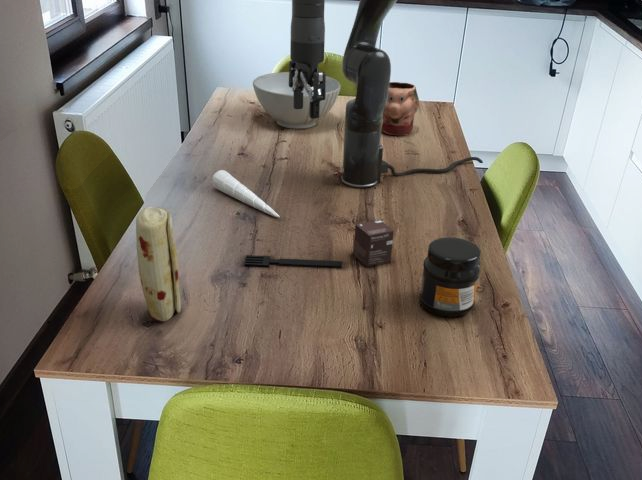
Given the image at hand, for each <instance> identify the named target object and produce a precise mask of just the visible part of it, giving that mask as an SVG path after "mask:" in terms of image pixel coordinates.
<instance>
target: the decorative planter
mask: <svg viewBox="0 0 642 480" xmlns="http://www.w3.org/2000/svg"><path fill="white" fill-rule="evenodd" d="M419 106H420V98H419V95H418V91H417V87H416V85H415V84H413V83H409V82H400V81H390V83H389V91H388V98H387V103H386V106H385V108H384V110H383V116H382V128H381V132H383V133H385V134H387V135H393V136H408V135H410V134H411V133H412V131H413V128H414V120H415V115H416V113H417V112H418V109H419Z"/></svg>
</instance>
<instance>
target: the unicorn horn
mask: <svg viewBox="0 0 642 480" xmlns="http://www.w3.org/2000/svg"><path fill="white" fill-rule="evenodd" d="M211 183H212V186H213V187H214V189H216V190H217V191H220V192H222V193H224V194H226V195H227V196H229V197H232V198H234V199H236V200H237V201H240V202H242V203H244V204H245V205H248V206H250V207H252V208H254V209H257V210H258V211H261V212H262V213H264V214H265V213H266V214H268V215H269V216H272V217H275V218H280V217H281V216H280V215H279V214H278V213H277V212H276V211H275V210H274V209H273V208H272V207H271V206H270V205H268V204H267V203H266V202H265V201H263V199H261V198H260V197H258V195H257V194H255V193H254V192H253V191H251V190H250V189H249V188H248V187H246V186H245V185H244V184H243V183H241V182H240V181H239V180H237V178H236V177H234V176H233V175H232V174H230V173H229V172H228V171H227V170H224V169H220V170H217V171H216V172H215V173H214V174H213V175H212V178H211Z"/></svg>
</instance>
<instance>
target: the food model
mask: <svg viewBox="0 0 642 480" xmlns="http://www.w3.org/2000/svg"><path fill="white" fill-rule="evenodd" d="M173 225H174V224H173V216H172V214H171V212H170V211H169V210H168V209H167V208H165V207H160V206H159V207H154V206H150V205H149V206H145V207H144V208H143V209H141V210H140V212H139V213H138V214H137V215H136V218H135V238H136V241H135V242H136V243H135V244H136V247H135V248H136V258H137V265H138V266H137V267H138V275H139V276H138V277H139V280H140V285H141V289H142V293H143V297H144V300H145V304H146V306H147V311H148V315H149V316H150V318H151V320H152V321H154V322H166V321H168V320H170V319H171V318H172V317H173V316H174V314H175V312H176V313H177V314H180V313H181V310H182V308H181V307H182V305H181V292H180V291H181V290H180V279H179V277H180V275H179V259H178V258H179V257H178V252H177V247H176V240H175V231H174V226H173Z"/></svg>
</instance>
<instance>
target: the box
mask: <svg viewBox="0 0 642 480" xmlns="http://www.w3.org/2000/svg"><path fill="white" fill-rule="evenodd" d="M354 227H355V228H354V239H353V256H354V257H355V258H356V259H357V260H359V261H360V262H361V263H362V264H363V265H364V266H366V267H373V266H377V265H383V264H387V263H390V262H391V261H392V253H393V243H394V229H393V228H392V227H390V226H388V225H387V224H386V223H385V222H383V220H381V219H377V220H368V221H363V222H360V223H355V226H354Z"/></svg>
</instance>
